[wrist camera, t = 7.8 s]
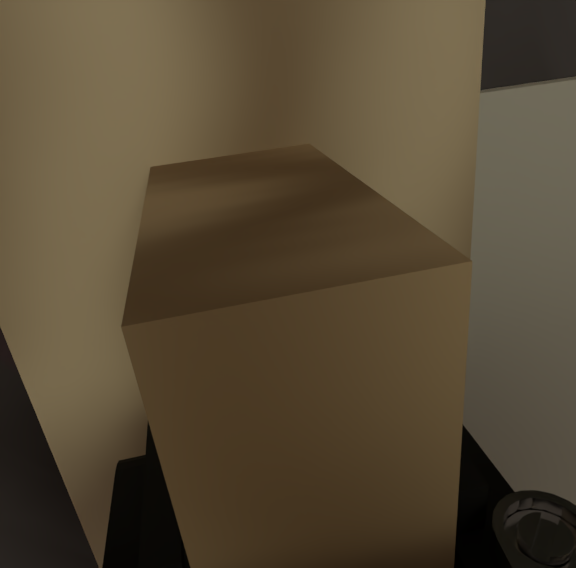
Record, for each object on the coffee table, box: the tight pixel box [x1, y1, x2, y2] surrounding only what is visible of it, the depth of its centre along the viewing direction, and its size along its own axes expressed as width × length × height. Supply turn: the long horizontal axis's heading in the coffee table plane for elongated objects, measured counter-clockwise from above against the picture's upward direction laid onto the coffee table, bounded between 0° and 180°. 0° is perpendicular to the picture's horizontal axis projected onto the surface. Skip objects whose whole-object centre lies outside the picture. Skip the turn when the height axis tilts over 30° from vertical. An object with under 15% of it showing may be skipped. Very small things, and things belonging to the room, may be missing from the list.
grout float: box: [0, 0, 485, 568], centre depth 10 cm, size 10×18×7 cm, turn 6°
